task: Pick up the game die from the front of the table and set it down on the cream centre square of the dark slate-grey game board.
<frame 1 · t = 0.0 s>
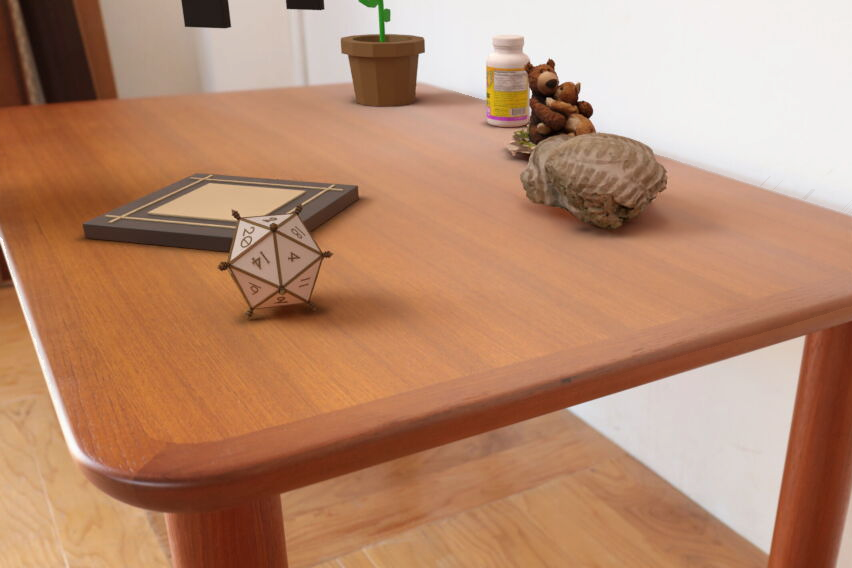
hand: (261, 18, 61), 22 cm above the table, tool pointing down, fingers open, 13 cm apart
fossil: (593, 213, 96), on the table
game die: (279, 310, 71), on the table
game board: (231, 217, 93), on the table
bear figurine: (561, 157, 119), on the table
supplement bottle: (507, 125, 138), on the table
flowerpot: (385, 102, 155), on the table
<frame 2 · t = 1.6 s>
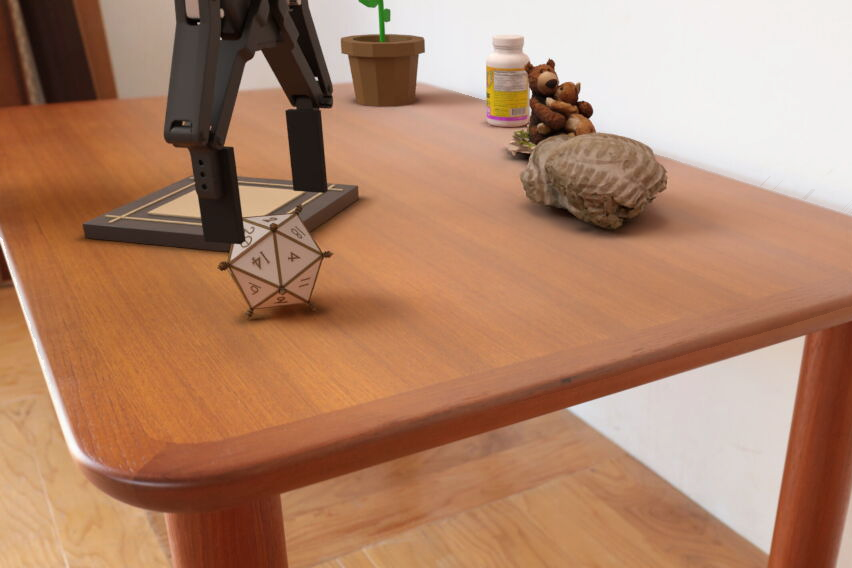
hand: (271, 214, 68), 8 cm above the table, tool pointing down, fingers open, 13 cm apart
nothing on the table moved.
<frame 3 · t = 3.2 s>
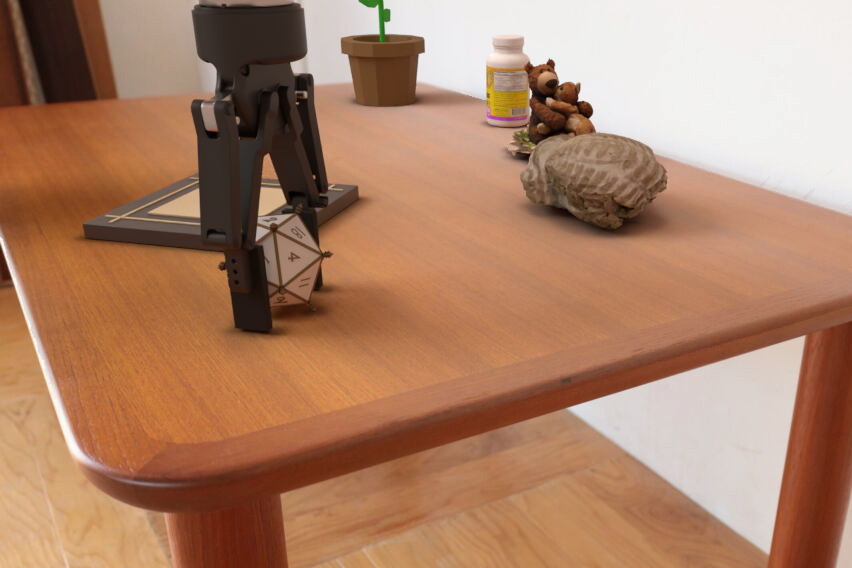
hand: (281, 305, 71), 0 cm above the table, tool pointing down, fingers closed on game die, 8 cm apart
game die: (279, 310, 71), on the table, touching gripper
everything else where it was.
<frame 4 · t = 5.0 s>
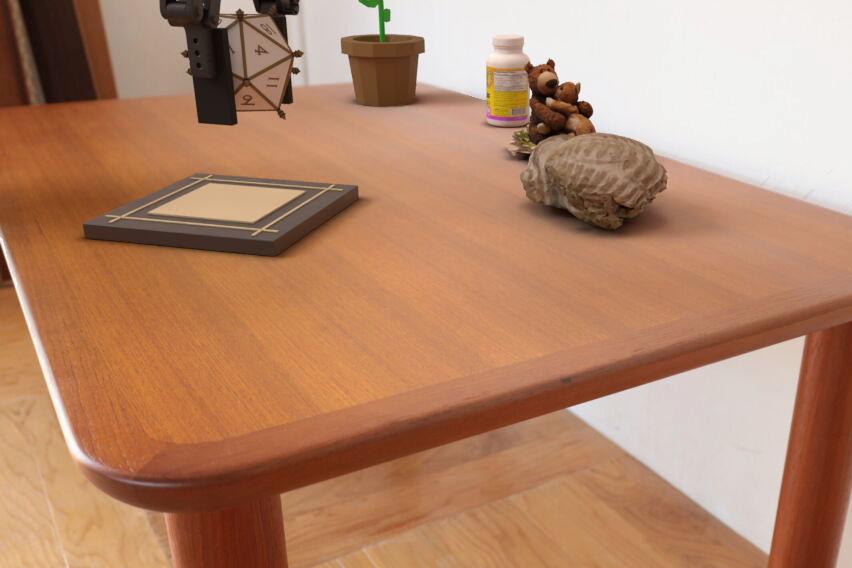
hand: (248, 112, 68), 15 cm above the table, tool pointing down, fingers closed on game die, 8 cm apart
game die: (249, 120, 68), point 14 cm above the table, touching gripper
everything else where it was.
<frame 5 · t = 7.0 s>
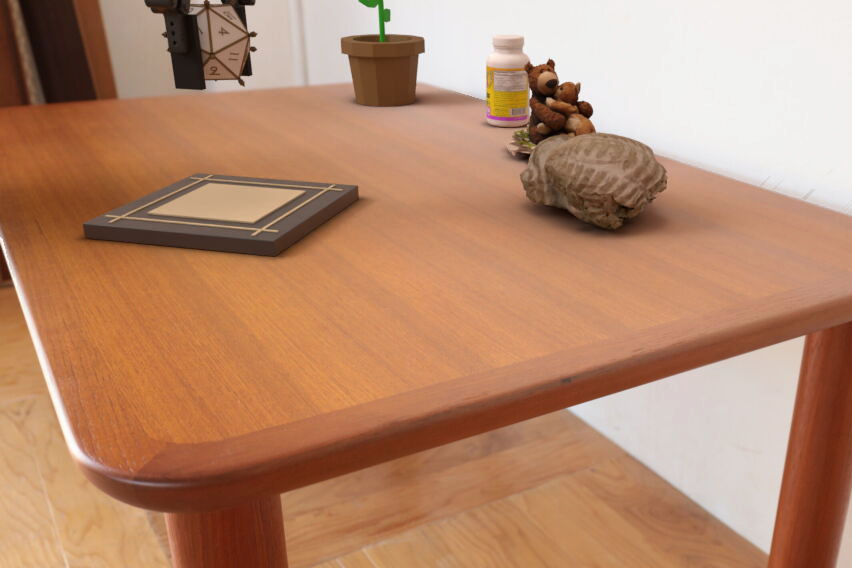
hand: (215, 81, 86), 14 cm above the table, tool pointing down, fingers closed on game die, 8 cm apart
game die: (216, 87, 87), point 13 cm above the table, touching gripper
everything else where it was.
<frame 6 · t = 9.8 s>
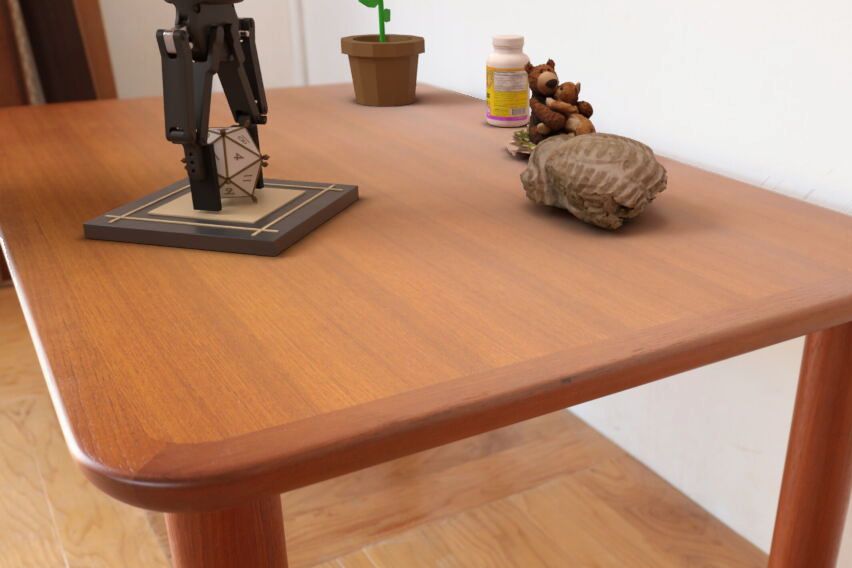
hand: (230, 197, 92), 2 cm above the table, tool pointing down, fingers closed on game die, 8 cm apart
game die: (230, 203, 92), point 2 cm above the table, touching game board, gripper
everything else where it was.
when the fingers open (2 cm above the table, at t = 10.0 s): game die stays where it is, resting on game board.
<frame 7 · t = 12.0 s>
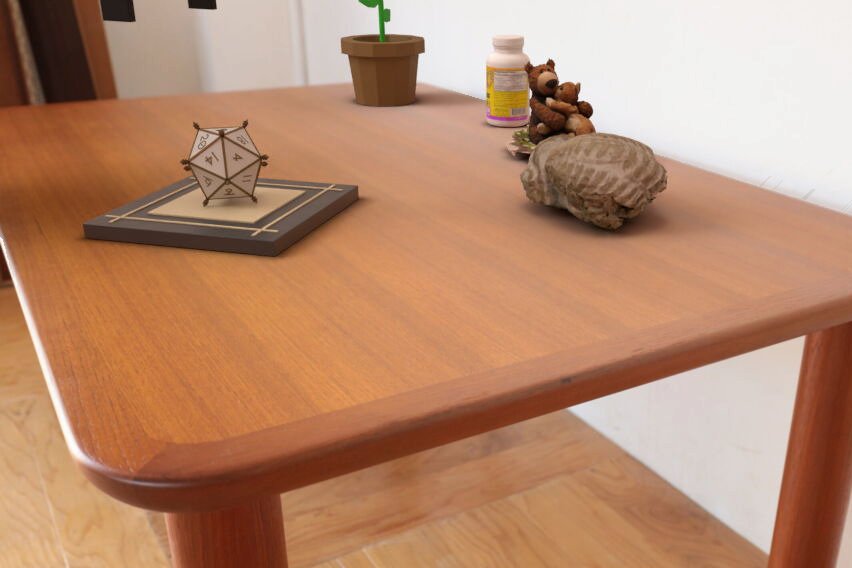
hand: (164, 15, 84), 20 cm above the table, tool pointing down, fingers open, 13 cm apart
game die: (230, 203, 92), point 2 cm above the table, touching game board
everything else where it was.
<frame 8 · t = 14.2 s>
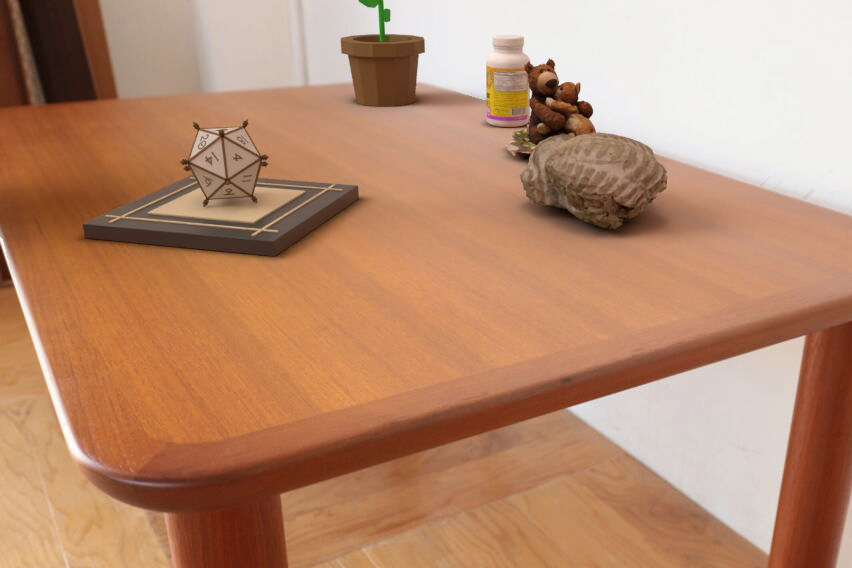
nothing on the table moved.
at the end: game die 0.1 cm off-centre on the game board, point 1.5 cm above the game board's base; game die tilted 2°; the gripper is holding nothing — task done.
